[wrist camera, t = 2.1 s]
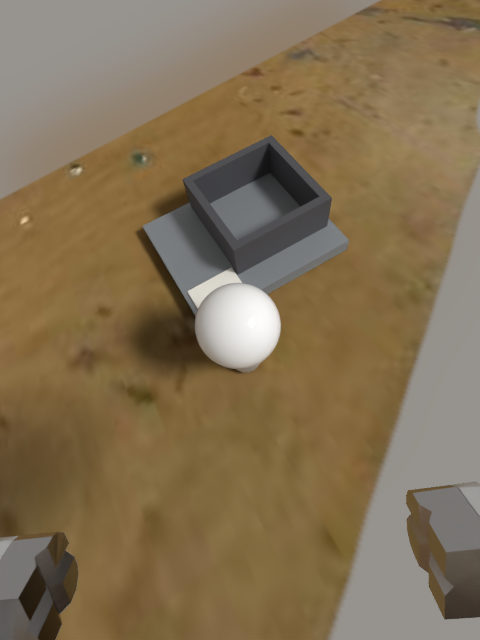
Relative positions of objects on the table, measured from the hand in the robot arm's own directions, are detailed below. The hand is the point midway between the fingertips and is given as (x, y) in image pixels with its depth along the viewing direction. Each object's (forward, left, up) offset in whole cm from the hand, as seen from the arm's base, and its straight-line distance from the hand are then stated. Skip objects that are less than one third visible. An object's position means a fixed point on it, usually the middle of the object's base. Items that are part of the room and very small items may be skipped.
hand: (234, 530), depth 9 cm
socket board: (+11, +24, -23) cm, 35 cm away
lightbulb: (+5, +12, -23) cm, 26 cm away
